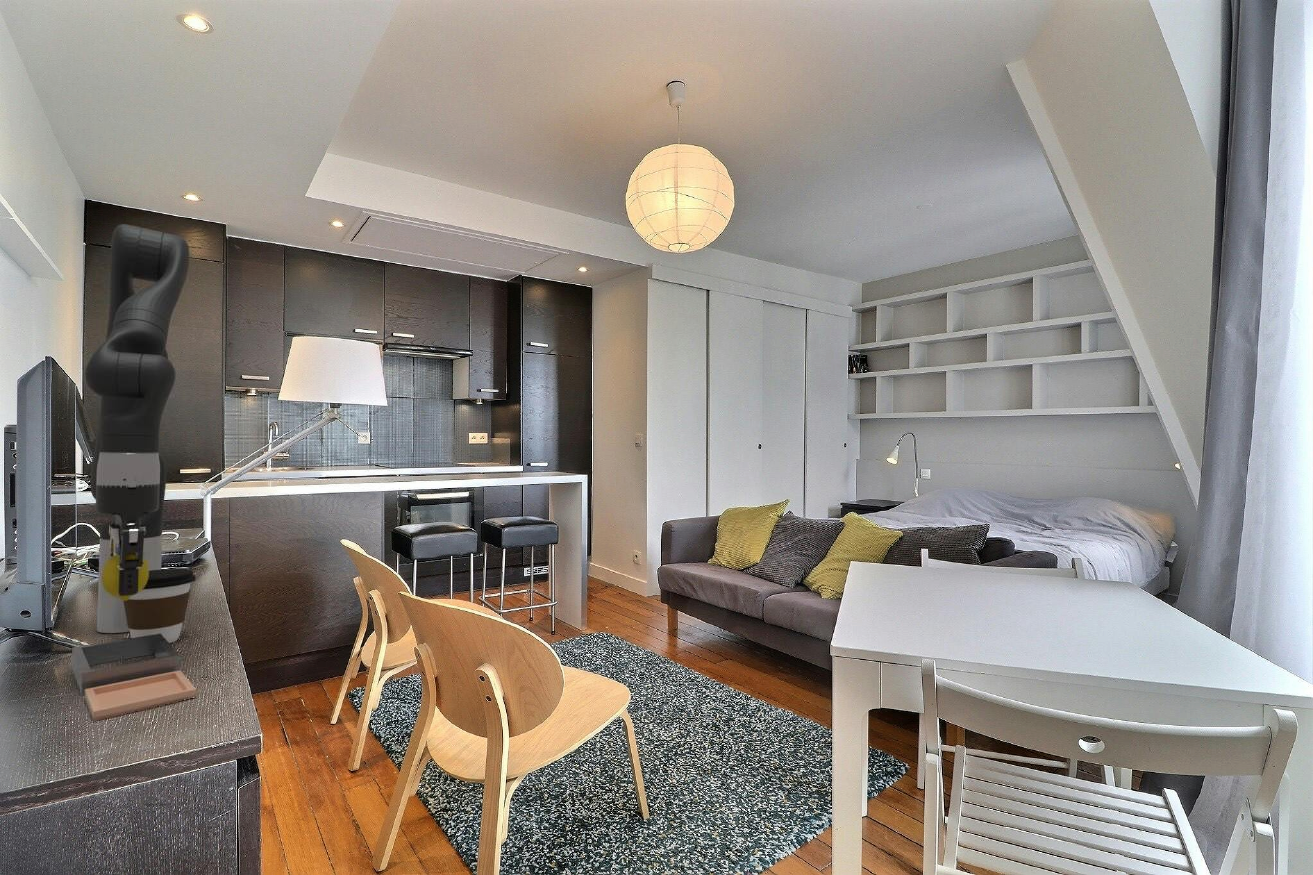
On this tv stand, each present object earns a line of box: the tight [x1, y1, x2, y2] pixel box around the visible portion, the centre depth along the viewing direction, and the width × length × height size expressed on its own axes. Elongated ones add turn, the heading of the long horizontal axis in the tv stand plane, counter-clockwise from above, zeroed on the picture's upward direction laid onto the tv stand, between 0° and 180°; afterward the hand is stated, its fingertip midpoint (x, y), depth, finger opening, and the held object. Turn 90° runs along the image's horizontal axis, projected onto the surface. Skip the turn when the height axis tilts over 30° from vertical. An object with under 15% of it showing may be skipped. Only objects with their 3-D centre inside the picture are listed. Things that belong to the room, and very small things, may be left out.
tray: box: [84, 670, 197, 722], centre depth 86 cm, size 11×11×1 cm
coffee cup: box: [123, 568, 197, 644], centre depth 112 cm, size 11×11×12 cm
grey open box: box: [71, 633, 181, 696], centre depth 97 cm, size 16×11×3 cm
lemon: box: [102, 555, 149, 601], centre depth 97 cm, size 6×6×8 cm
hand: (125, 590), depth 97 cm, fingers closed on lemon, 5 cm apart
